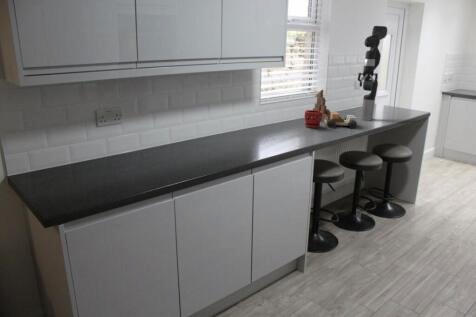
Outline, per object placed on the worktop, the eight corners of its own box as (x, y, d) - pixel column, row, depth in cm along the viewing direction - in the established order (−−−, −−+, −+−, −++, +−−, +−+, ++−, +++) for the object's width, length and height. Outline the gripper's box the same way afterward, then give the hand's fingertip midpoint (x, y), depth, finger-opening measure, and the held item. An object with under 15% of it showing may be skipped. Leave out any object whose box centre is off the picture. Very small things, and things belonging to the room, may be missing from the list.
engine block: (330, 119, 307) (330, 112, 305) (336, 120, 307) (337, 112, 305) (331, 121, 300) (332, 114, 299) (338, 121, 300) (339, 114, 298)
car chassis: (323, 122, 313) (324, 113, 311) (351, 123, 312) (352, 114, 310) (327, 127, 297) (328, 117, 295) (356, 128, 296) (357, 118, 294)
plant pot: (322, 128, 292) (324, 113, 288) (305, 128, 292) (306, 112, 288) (319, 125, 304) (320, 109, 301) (302, 124, 304) (303, 109, 300)
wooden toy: (330, 121, 319) (333, 90, 311) (325, 122, 314) (328, 91, 307) (315, 118, 330) (317, 88, 322) (310, 119, 325) (312, 88, 318)
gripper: (377, 65, 297) (374, 86, 302) (358, 64, 298) (355, 85, 303) (380, 65, 290) (377, 87, 295) (360, 65, 290) (358, 87, 295)
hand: (366, 86), depth 299 cm, fingers open, 8 cm apart
